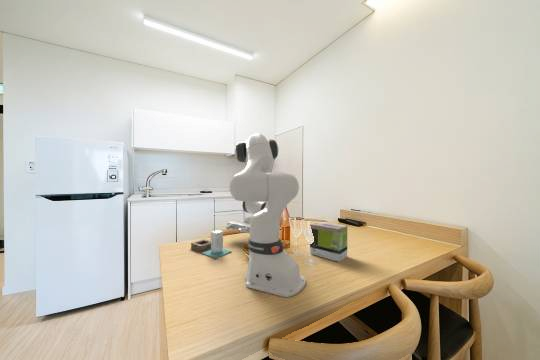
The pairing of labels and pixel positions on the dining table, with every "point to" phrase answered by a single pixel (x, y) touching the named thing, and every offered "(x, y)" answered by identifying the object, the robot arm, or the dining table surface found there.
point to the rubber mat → (208, 253)
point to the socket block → (201, 245)
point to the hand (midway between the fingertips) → (233, 229)
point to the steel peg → (216, 242)
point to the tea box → (329, 241)
